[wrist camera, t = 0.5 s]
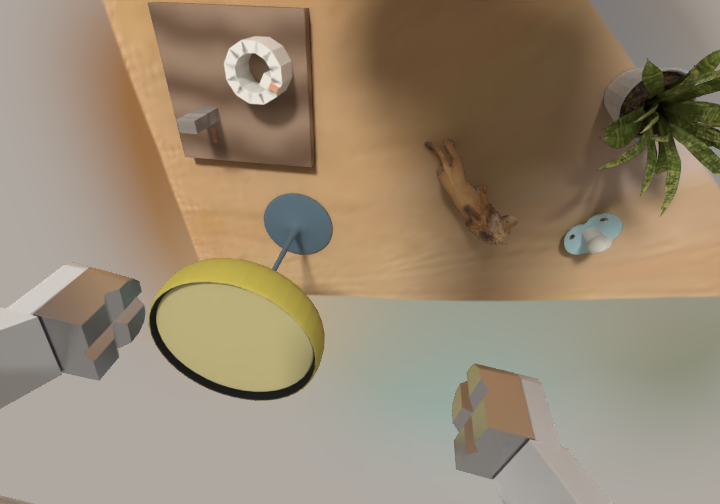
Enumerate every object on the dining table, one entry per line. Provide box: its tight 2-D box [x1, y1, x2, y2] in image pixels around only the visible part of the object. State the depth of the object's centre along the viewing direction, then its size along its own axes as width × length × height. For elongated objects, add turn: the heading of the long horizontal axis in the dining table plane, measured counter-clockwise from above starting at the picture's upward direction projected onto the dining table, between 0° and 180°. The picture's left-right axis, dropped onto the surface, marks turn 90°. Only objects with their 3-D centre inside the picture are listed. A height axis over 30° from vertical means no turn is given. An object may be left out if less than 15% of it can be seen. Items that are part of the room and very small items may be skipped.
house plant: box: [597, 50, 720, 216], centre depth 37 cm, size 14×14×16 cm
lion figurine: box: [424, 140, 518, 245], centre depth 48 cm, size 15×5×9 cm, turn 49°
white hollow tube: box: [224, 36, 292, 105], centre depth 43 cm, size 6×6×4 cm
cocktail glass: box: [149, 193, 332, 401], centre depth 49 cm, size 18×18×25 cm
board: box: [148, 2, 315, 167], centre depth 45 cm, size 18×18×8 cm
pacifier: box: [564, 213, 623, 255], centre depth 51 cm, size 7×6×6 cm
